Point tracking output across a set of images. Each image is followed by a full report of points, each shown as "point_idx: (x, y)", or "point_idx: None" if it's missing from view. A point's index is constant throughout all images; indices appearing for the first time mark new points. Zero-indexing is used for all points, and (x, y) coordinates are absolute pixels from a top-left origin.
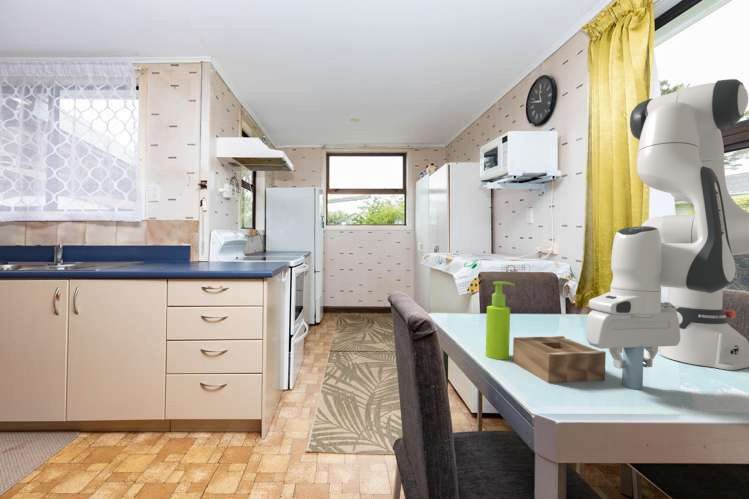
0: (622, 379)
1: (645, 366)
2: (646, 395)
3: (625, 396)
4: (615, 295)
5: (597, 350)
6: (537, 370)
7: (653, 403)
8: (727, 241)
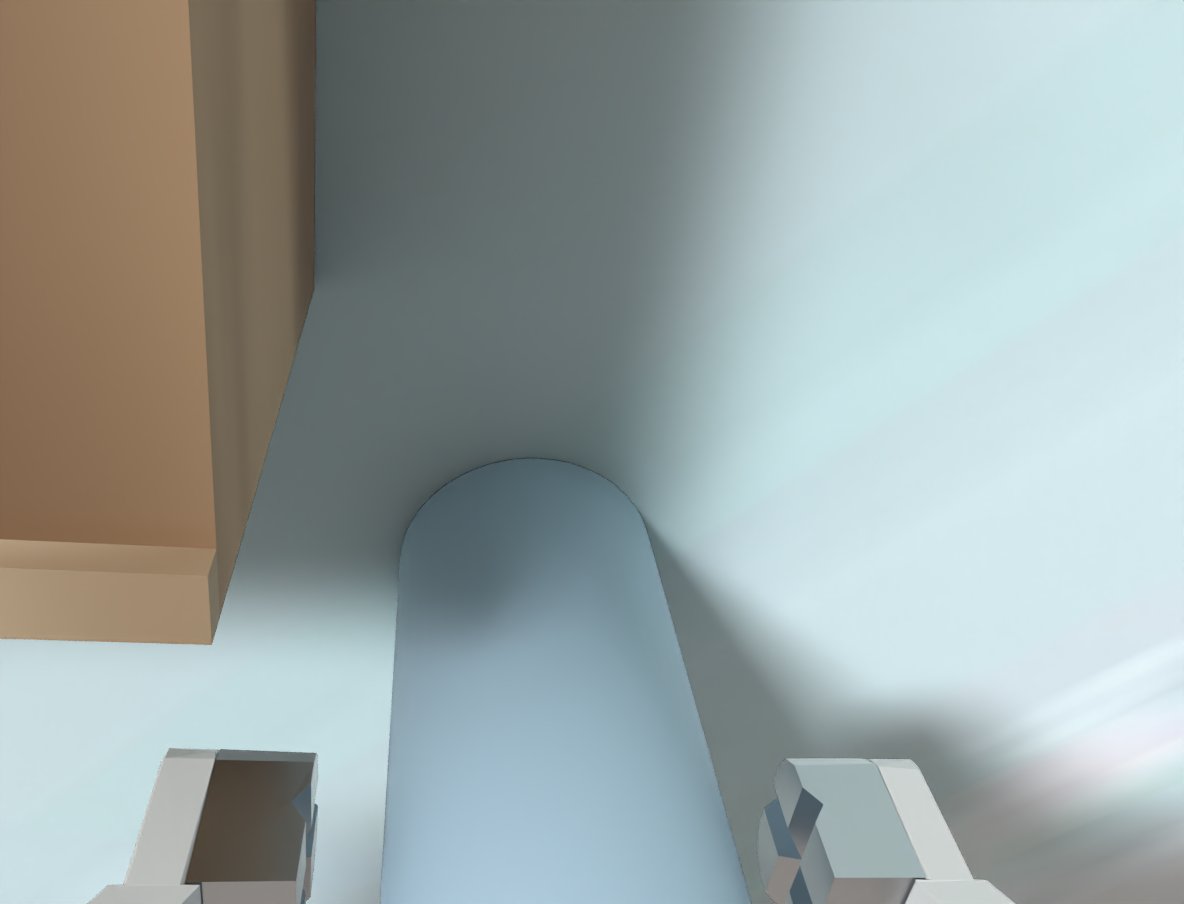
0: (420, 561)
1: (763, 845)
2: None
3: (116, 770)
4: None
5: (171, 346)
6: None
7: None
8: None
